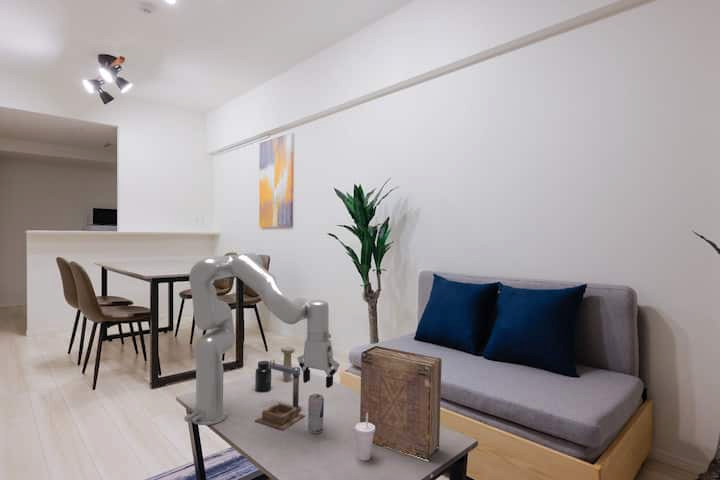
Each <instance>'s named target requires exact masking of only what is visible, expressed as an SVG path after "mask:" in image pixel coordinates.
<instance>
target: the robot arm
mask: <svg viewBox="0 0 720 480" xmlns="http://www.w3.org/2000/svg"><path fill="white" fill-rule="evenodd" d="M188 276H189V278H188V279H189V280H188V281H189V285H190V291H191V298H192V307H193V317H194V323H195V326H196V328H198V329H199V330H201V331H209V332H207V333H204V334H203V335H202V336H200V337H199V338H198V339H197V340H196V341H195V343H194V347H193V353H194V359H195V372H196V374H195V376H196V379H195V380H196V381H195V384H196V385H195V408H193V411H192V412H191V413H190V414H187V415H185V416H184V421H185V422H189V421H191V422H192V423H193V424H195V425H198V426H210V425H215V424H218V423H222V422H223V421H224V420H226V419H227V417H228V411H227V410H226V408H225V409H224V365H223V360H222V357H221V356H222V355H223V354H225V353H227V352H229V351H231V349H232V348H234V347H233V346H234V345H235V340H236V335H235V334H236V333H235V325H234V317H233V312H232V308H231V306H229V304H228V303H227V302H225V301H223V300H218V295H217V290H216V287H215V285H214V284H213V282H214V281H215V280H222V279H227V278H234V277H236V278H238V279H240V280H241V281H242V282H243V283H244V284H246V285H247V286H248V287H249V288H250V289H251V290H253V291H254V293H256V294H257V295H259V298H260V300H261V301H262V303H263V304H264V306H265V307H266V309H267V310H268V311H269V312H270V313H271V314H273V316H275V317H276V318H277V319H278V320H280V321H281V322H283V324H284V323H285V324H286V325H287V324H288V325H295V324H297V323H299V322H301V321H303V320H305V319H306V339H305V342H304V346H303V354H302V355H300V356H298V357H297V358H296V359H297V362H298V363H299V364H298V365H299V366H298V367H299V368H300V369H301V371H302V378H303V381H302V383H304V384H306V383H307V382H310V381H311V369H315V370H319V371H324V372H325V375H326V377H325V388H326V389H329V388H331V387H333V385H334V375H335V374H336V373H337V372H338V369H339V368H340V363H339V362H338V361H336V360H335V359H334V352H333V346H332V344H333V343H332V340H331V338H332V335H331V334H330V332H329V322H330V321H329V316H330V315H329V310H330V309H329V303H328V302H327V300H322V299H321V300H320V299H319V300H318V299H315V300H312V299H306V298H295V299H293V300H290V299H289V298H287V297H286V296H285V295H284V294H283V293H282V292H281V291H280V290H279V289H278V285H277V279H276V276H275V275H274V274H272V273H271V272H270V271H269V270H267V269H266V268H265V267H264V261H263V259H262V258H261V256H260V255H258V253H253V252H249V253H240V254H234V255H233V254H231V255H221V256H210V257H209V256H208V257H205V258H202V259H201V260H199V261H197V262H195V264H194V265H193V266H192V267H191V269H190V272H189V275H188Z"/></svg>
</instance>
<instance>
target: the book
mask: <svg viewBox="0 0 720 480" xmlns="http://www.w3.org/2000/svg"><path fill="white" fill-rule="evenodd" d="M360 356H361V357H360V358H361V359H360V404H359V405H360V409H359V410H360V411H359V412H360V413H359V414H360V415H359V416H360V417H359V420H360V422H359V423H362V422H366V413H368V423H371V424H373V425H374V426H375V432H374V437H373V443H372V444H374V443H376V444H375V445H377V444H379V445H378V446H380V445H382V446H381V447H383V446H386V447H389V448H392V449H395V450H397V451H401V452H403V453H407V454H411V455H414V456H417V457H420V458H423V459H427V460H430V459H431V456H430V455H431V454H433V453H435V451H436V450H437V449H436V448H437V447H439V448H440V439H441V437H440V435H441V434H440V431H441V403H442V402H441V401H442V400H441V399H442V398H441V396H442V365H443V364H442V361H443V360H442V358H441V357H435V356H430V355H424V354H422V353H421V354H420V353H414V352H409V351H404V350H399V349H394V348H388V347H383V346H379V345H375V346H372V347H371V348H368V349H366V350H364V351H362V352H361V354H360ZM435 449H436V450H435ZM397 451H396V452H397ZM403 453H402V454H403Z"/></svg>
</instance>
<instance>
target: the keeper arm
mask: <svg viewBox="0 0 720 480" xmlns="http://www.w3.org/2000/svg"><path fill="white" fill-rule="evenodd" d="M268 368H269V369H271V370H275V371H279V372H282V373H283V372H286V373H290V374H291V376H292V377H293V376H299V377H300V376H301V367H300V366H297V367H296V366H295V367H293V366H292V367H288V366H283V364H278V363H276V362H275V360H274V359H273V360H269V364H268Z"/></svg>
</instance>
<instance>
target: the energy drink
mask: <svg viewBox="0 0 720 480" xmlns="http://www.w3.org/2000/svg"><path fill="white" fill-rule="evenodd" d="M324 401H325V398H324V396H323V394H321V393H313V394H310V395H309V397H308V407H307V408H308V410H307V414H308V415H307V417H308V418H307V431H308V432H309V434H315V435H316V434H317V435H318V434H321V433H322V432H323V430H324V414H325V413H324V409H325V406H324V404H325V402H324Z"/></svg>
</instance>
